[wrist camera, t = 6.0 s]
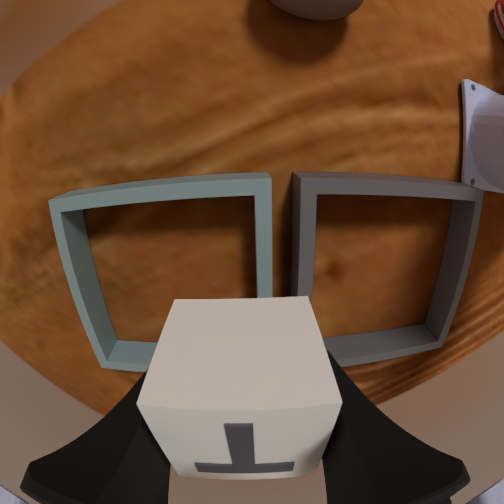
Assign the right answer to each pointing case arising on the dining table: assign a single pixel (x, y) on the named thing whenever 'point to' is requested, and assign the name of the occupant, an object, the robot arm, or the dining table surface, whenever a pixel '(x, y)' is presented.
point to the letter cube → (241, 389)
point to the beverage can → (499, 16)
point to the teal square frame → (202, 186)
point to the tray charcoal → (450, 273)
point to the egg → (319, 8)
